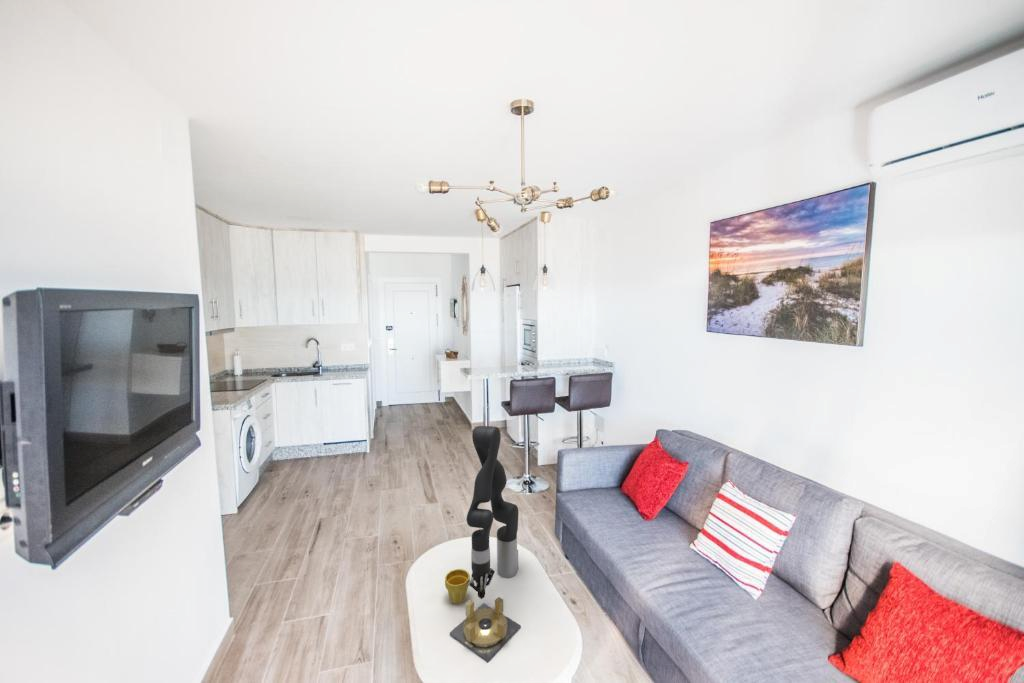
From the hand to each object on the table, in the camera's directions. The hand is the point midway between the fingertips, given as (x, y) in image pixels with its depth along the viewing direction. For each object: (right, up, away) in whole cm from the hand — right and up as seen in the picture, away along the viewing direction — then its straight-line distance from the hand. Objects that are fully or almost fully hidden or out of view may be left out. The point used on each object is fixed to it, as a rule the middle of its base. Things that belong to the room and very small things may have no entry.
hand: (481, 597), depth 167 cm
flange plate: (+2, -7, -10) cm, 12 cm away
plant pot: (-11, -6, +8) cm, 14 cm away
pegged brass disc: (+2, -6, -10) cm, 12 cm away
